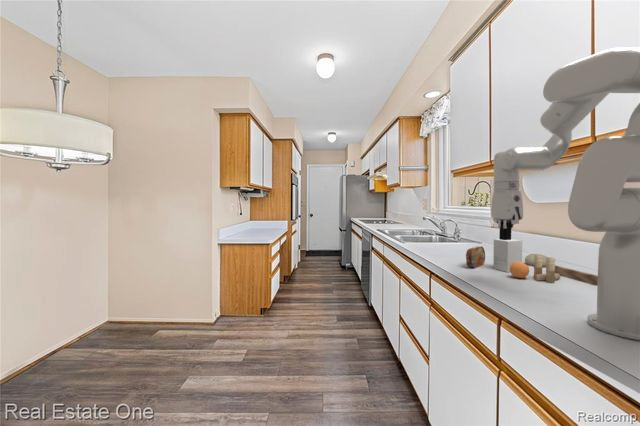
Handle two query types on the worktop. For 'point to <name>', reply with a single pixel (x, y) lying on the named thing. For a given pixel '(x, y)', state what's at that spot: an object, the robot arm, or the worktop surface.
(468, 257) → the tin
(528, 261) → the sea urchin shell
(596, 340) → the worktop surface
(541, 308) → the worktop surface
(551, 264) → the back right pin
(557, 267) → the brown wooden bar
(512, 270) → the ball
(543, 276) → the front pin
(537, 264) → the back left pin
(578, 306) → the worktop surface
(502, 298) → the worktop surface
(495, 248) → the supplement box
